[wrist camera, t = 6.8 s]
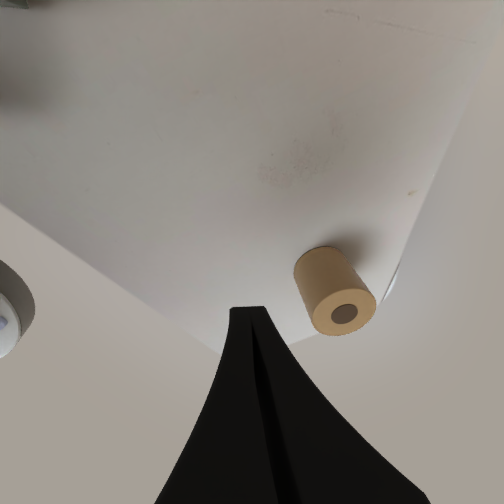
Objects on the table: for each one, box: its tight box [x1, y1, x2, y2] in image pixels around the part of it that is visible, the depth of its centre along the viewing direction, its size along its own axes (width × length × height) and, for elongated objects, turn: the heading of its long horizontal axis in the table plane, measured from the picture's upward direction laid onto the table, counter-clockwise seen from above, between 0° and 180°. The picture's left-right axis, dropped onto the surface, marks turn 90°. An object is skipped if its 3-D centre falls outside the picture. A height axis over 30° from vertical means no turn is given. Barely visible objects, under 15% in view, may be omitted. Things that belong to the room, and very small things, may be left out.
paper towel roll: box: [294, 247, 376, 336], centre depth 20 cm, size 4×4×5 cm
